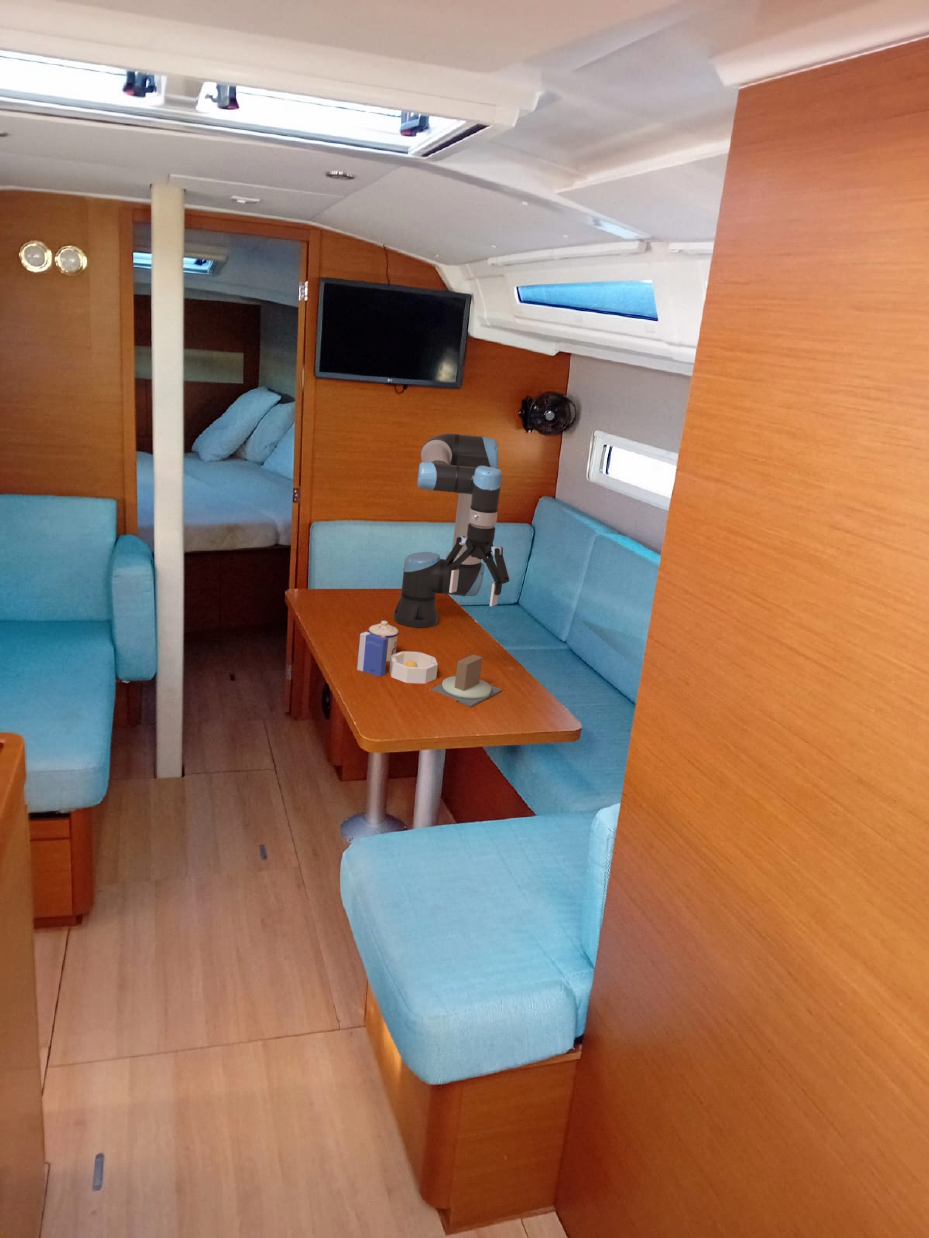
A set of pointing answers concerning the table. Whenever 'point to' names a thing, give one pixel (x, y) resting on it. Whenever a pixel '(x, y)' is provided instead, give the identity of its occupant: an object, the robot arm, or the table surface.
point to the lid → (467, 680)
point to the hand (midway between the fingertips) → (472, 598)
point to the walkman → (372, 653)
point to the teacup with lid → (389, 633)
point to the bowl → (413, 674)
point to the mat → (465, 701)
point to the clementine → (411, 664)
